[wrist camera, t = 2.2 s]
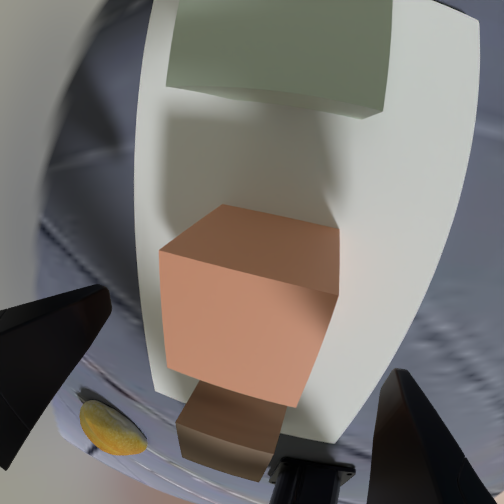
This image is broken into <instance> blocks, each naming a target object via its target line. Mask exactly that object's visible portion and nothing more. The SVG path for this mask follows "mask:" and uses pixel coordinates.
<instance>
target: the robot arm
mask: <svg viewBox="0 0 504 504" xmlns="http://www.w3.org/2000/svg"><path fill="white" fill-rule="evenodd" d="M111 311H112V305H111V299H110V293H109V290H108V288H107V287H105V286H102V285H100V284H95V285H91V286H88V287H84V288H80V289H76V290H73V291H69V292H65V293H62V294H58V295H55V296H51V297H47V298H44V299H40V300H36V301H33V302H29V303H26V304H22V305H19V306H15V307H11V308H8V309H4V310H0V467H1V468H3V469H4V470H5V471H6V470H7V469H8V468H9V466H10V465H11V463H12V461H13V460H14V458H15V456H16V455H17V453H18V451H19V450H20V448H21V446H22V445H23V443H24V441H25V440H26V438H27V437H28V435H29V433H30V431H31V430H32V429H33V427H34V425H35V424H36V422H37V421H38V419H39V418H40V416H41V415H42V413H43V412H44V410H45V409H46V407H47V406H48V404H49V403H50V401H51V400H52V399H53V397H54V396H55V394H56V393H57V391H58V390H59V389H60V387H61V386H62V384H63V383H64V382H65V380H66V379H67V377H68V376H69V375H70V373H71V372H72V370H73V369H74V368H75V366H76V365H77V364H78V362H79V361H80V360H81V358H82V357H83V356H84V354H85V353H86V352H87V350H88V349H89V347H90V346H91V344H92V343H93V341H94V340H95V338H96V336H97V335H98V333H99V332H100V330H101V328H102V327H103V325H104V324H105V322H106V320H107V319H108V317H109V316H110V314H111ZM355 473H356V470H355V469H353V468H344V467H336V466H329V465H322V464H316V463H310V462H304V461H299V460H294V459H289V458H282V459H281V461H280V462H279V464H278V466H277V467H276V469H275V471H274V472H273V474H272V475H271V477H270V479H269V482H270V483H272V484H275V487H274V490H273V494H272V497H271V500H270V503H269V504H337V503H338V497H339V491H340V486H342V485H343V484H344V483H346V482H347V481H348V480H349V479H350V478H352V477H353V476H354V475H355ZM367 504H497V503H496V501H495V500H494V498H493V497H492V496H491V494H490V493H489V492H488V490H487V489H486V487H485V486H484V484H483V483H482V482H481V480H480V479H479V477H478V476H477V474H476V472H475V471H474V469H473V468H472V466H471V464H470V463H469V461H468V460H467V458H465V455H464V453H463V452H462V450H461V448H460V447H459V445H458V444H457V442H456V441H455V439H454V437H453V436H452V434H451V433H450V431H449V430H448V428H447V427H446V425H445V424H444V422H443V421H442V419H441V418H440V416H439V415H438V413H437V412H436V410H435V409H434V407H433V406H432V404H431V403H430V401H429V400H428V398H427V397H426V396H425V394H424V393H423V391H422V390H421V388H420V387H419V386H418V384H417V383H416V381H415V380H414V378H413V377H412V376H411V374H410V373H409V372H408V371H407V370H405V369H399V368H395V369H393V370H392V371H391V373H390V375H389V376H388V378H387V379H386V381H385V382H384V384H383V386H382V388H381V390H380V396H379V404H378V411H377V418H376V424H375V430H374V437H373V448H372V461H371V472H370V481H369V489H368V497H367Z"/></svg>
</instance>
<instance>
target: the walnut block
mask: <svg viewBox="0 0 504 504" xmlns="http://www.w3.org/2000/svg"><path fill="white" fill-rule="evenodd" d="M286 409H287V406H286V405H281V404H277V403H274V402H270V401H266V400H262V399H259V398H255V397H251V396H248V395H245V394H241V393H238V392H235V391H231V390H228V389H225V388H222V387H219V386H216V385H213V384H210V383H207V382H204V381H201V380H199V382H198V384H197V386H196V387H195V389H194V391H193V393H192V394H191V396H190V398H189V400H188V401H187V403H186V405H185V407H184V408H183V410H182V412H181V414H180V415H179V417H178V419H177V420H176V422H175V423H176V428H177V434H178V439H179V444H180V449H181V454H182V457H183V458H185V459H188V460H190V461H193V462H195V463H198V464H201V465H204V466H206V467H209V468H212V469H215V470H218V471H221V472H224V473H227V474H231V475H234V476H237V477H241V478H244V479H248V480H252V481H256V482H259V481H260V480H261V478H262V476H263V474H264V472H265V470H266V468H267V466H268V465H269V463H270V461H271V459H272V457H273V455H274V452H275V448H276V445H277V442H278V438H279V435H280V431H281V427H282V424H283V420H284V416H285V413H286Z"/></svg>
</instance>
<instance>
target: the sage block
mask: <svg viewBox="0 0 504 504" xmlns="http://www.w3.org/2000/svg"><path fill="white" fill-rule="evenodd" d="M392 9H393V0H179V5H178V10H177V15H176V20H175V25H174V31H173V37H172V43H171V49H170V56H169V63H168V71H167V78H166V87H172V88H178V89H184V90H189V91H195V92H200V93H205V94H209V95H214V96H219V97H223V98H227V99H231V100H240V101H251V102H261V103H270V104H278V105H285V106H292V107H299V108H305V109H311V110H317V111H322V112H327V113H332V114H337V115H342V116H346V117H351V118H355V119H360V120H363V119H365V118H368V117H370V116H373V115H375V114H378V113H380V112H383V108H384V101H385V94H386V86H387V78H388V68H389V58H390V46H391V32H392Z"/></svg>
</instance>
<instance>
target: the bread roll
mask: <svg viewBox="0 0 504 504" xmlns="http://www.w3.org/2000/svg"><path fill="white" fill-rule="evenodd" d="M80 424H81V426H82V429H83V431H84V433H85V434H86V435H87V437H88V438H89V439H90V441H91V442H92V443H93V444H95V445H96V446H97V447H98V448H100V449H101V450H102V451H104V452H107V453H109V454H112V455H132V454H139V453H141V452H143V451H144V450H145V449H146V448H147V444H148V443H147V440H146V438H145V436H144V435H143V434H142V433H141V431H140V430H139V429H138V428H137V427H136V426H135V425H134V424H133V423H132V422H131V421H130V420H129V419H127V418H126V417H125V416H123V415H122V414H121V413H119V412H118V411H116V410H114V409H113V408H111V407H109V406H107V405H105V404H103V403H101V402H99V401H96V400H90V401H87V402H85V403H84V404H83V406H82V407H81V410H80Z"/></svg>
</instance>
